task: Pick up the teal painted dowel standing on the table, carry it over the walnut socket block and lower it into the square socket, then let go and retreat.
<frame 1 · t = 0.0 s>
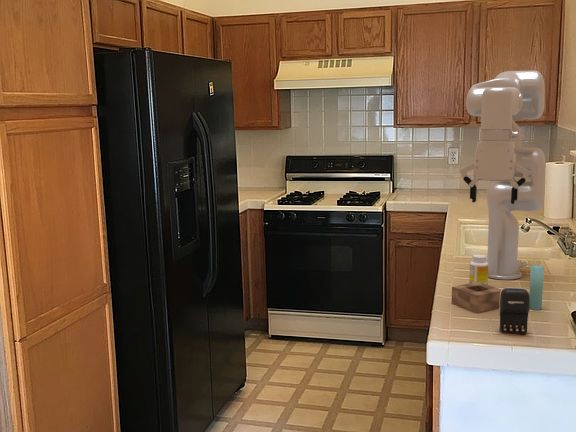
hand: (493, 202, 165), 31 cm above the table, tool pointing down, fingers open, 9 cm apart
supplement bottle: (478, 288, 197), on the table
battery charger: (513, 333, 158), on the table
dowel: (535, 308, 177), on the table
socket block: (477, 305, 180), on the table
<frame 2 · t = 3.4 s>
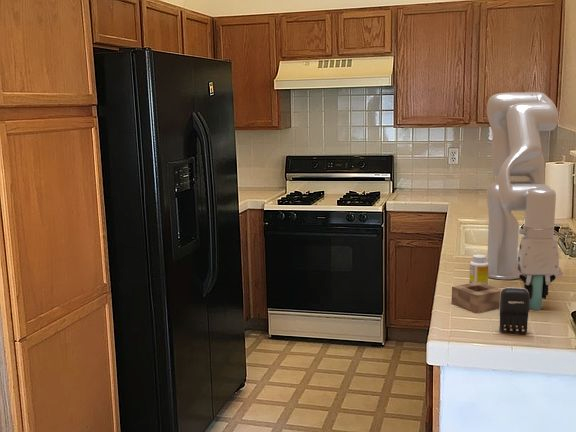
hand: (535, 297, 176), 3 cm above the table, tool pointing down, fingers closed on dowel, 3 cm apart
dowel: (535, 308, 177), on the table, touching gripper
everything else where it was.
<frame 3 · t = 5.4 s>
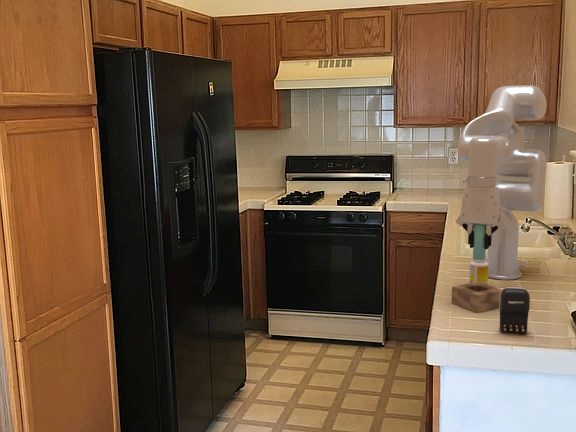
hand: (479, 247, 177), 17 cm above the table, tool pointing down, fingers closed on dowel, 3 cm apart
dowel: (479, 258, 177), point 14 cm above the table, touching gripper
everything else where it was.
when the fingers open (6 cm above the table, at t = 7.4 s): dowel drops 2 cm, resting in socket block.
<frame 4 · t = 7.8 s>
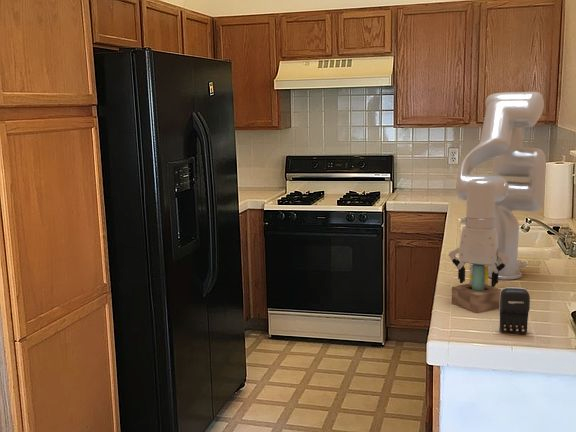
hand: (477, 283, 179), 6 cm above the table, tool pointing down, fingers open, 8 cm apart
dowel: (477, 305, 180), resting in socket block
everything else where it was.
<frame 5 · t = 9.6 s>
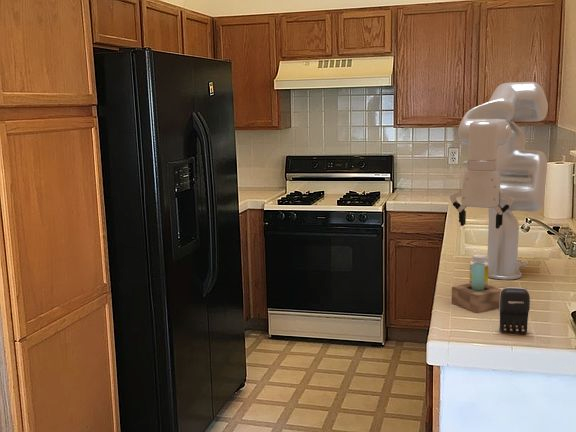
hand: (480, 226, 178), 23 cm above the table, tool pointing down, fingers open, 9 cm apart
nothing on the table moved.
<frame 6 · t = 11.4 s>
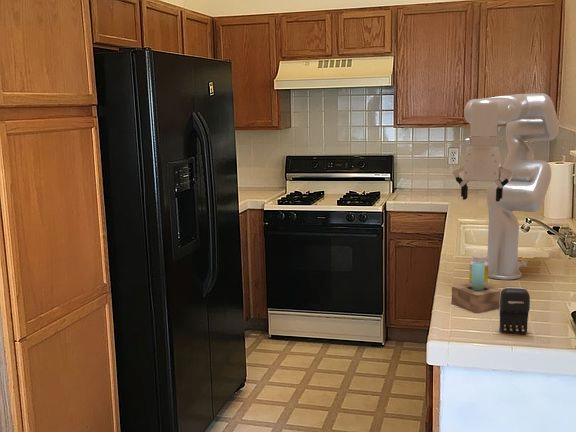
hand: (481, 200, 188), 28 cm above the table, tool pointing down, fingers open, 9 cm apart
nothing on the table moved.
at the end: dowel 0.1 cm from the socket block (horizontally); dowel resting in socket block; dowel tilted 1° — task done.
